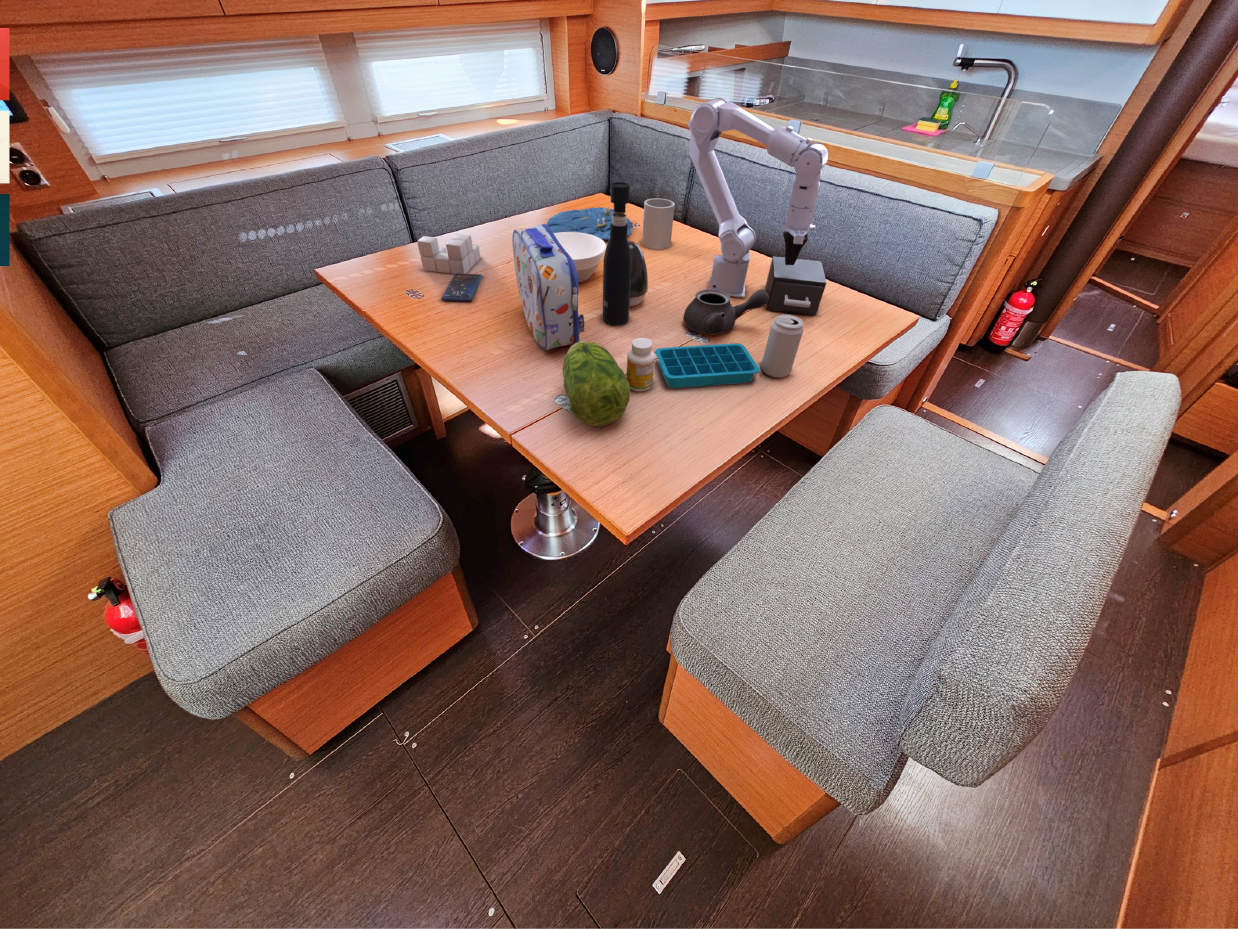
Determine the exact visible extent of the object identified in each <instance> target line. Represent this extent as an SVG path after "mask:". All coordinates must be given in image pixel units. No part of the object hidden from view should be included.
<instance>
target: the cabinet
mask: <svg viewBox="0 0 1238 929" xmlns="http://www.w3.org/2000/svg"><path fill="white" fill-rule="evenodd" d="M776 281H786V282H795V283H804V284H813V285H819V286H823V291H822V294H821V297H820V300H819V303H818V307H817V310H816V313H815V314H811V313H803V312H794V311H786V310H778V309H770V308H769V306H770V302H771V298H772V294H773V290H774V286H775V282H776ZM826 286H827V279H826V275H825V271H824V267H823V263H822V261H820V260H811V259H802V258H797V260H796V262H795V264H794V265H785V256H784V257H783V256H776V255H774V256H772V257H771V262H770V265H769V269H768V274H767V279H766V282H765V286H764V290H765V291H766V292H767V294H768V295H769V301H768V303H767V304H766V305H765V310H768V311H776V312H784V313H792V314H801V315H810V316H817V315H818V314H817V313H818V310H819V307H820V305H821V303H822V302H821V300H823V296H824V292H825V289H826Z"/></svg>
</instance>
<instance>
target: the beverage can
mask: <svg viewBox="0 0 1238 929" xmlns="http://www.w3.org/2000/svg"><path fill="white" fill-rule="evenodd" d="M804 323H805V322H804V321H803V319H801V318H800V317H798V316H796V315H793V314H779V315H777V316H776V317H775V318H774V320H773V321H772V322H771V324H770V325H771V326H770V329H769V333H768V337H767V341H766V345H765V347H764V348H765V349H764V352H763V355H762V360H761V364H760V370H761V371H763V373H764V374H765V375H767V376H769V377H772V378H778V379H779V378H784V377H787V376H788V375H790V374H791V372H792V369H793V367H794V366H793V365H794V362H795V359H796V356H797V353H798V349H799V348H800V347H799V346H800V343H801V340H802V337H803V334H804V330H805V329H804Z"/></svg>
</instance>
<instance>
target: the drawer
mask: <svg viewBox="0 0 1238 929" xmlns="http://www.w3.org/2000/svg"><path fill="white" fill-rule="evenodd" d="M822 291H823V286H819V285H813V284H804V283H795V282H786V281H776V282H775V286H774V290H773V294H772V298H771V302H770V306H769V308H770V309H778V310H786V311H794V312H803V313H811V314H815V313H816V310H817V307H818V303H819V300H820V297H821V294H822Z"/></svg>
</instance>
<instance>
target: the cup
mask: <svg viewBox="0 0 1238 929" xmlns="http://www.w3.org/2000/svg"><path fill="white" fill-rule="evenodd" d="M675 207H676V204H675V202H674V201H672V200H670V199H666V198H658V197H657V198H656V197H655V198H647V199H646V200H644V202H643V218H642V220H643V221H642V234H641V245H642V246H643V247H644V248H647V249H651V250H667V249H668V248H670V247H671V244H672V234H673V225H674V218H675V217H674V215H675Z"/></svg>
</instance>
